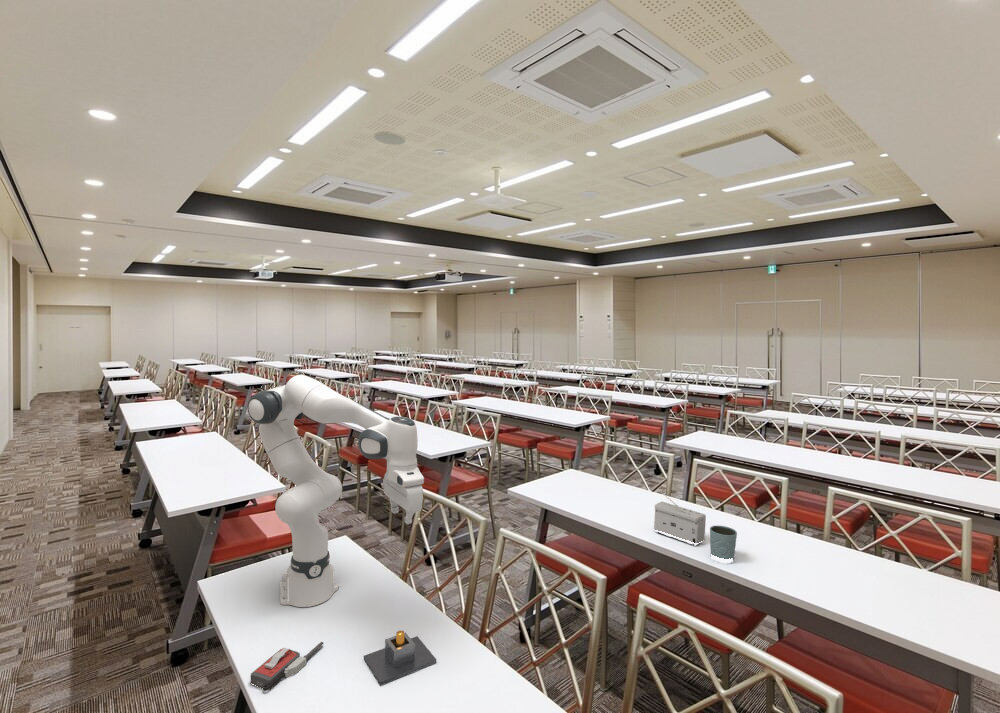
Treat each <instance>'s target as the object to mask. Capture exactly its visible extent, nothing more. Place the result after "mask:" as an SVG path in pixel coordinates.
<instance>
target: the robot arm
mask: <svg viewBox="0 0 1000 713" xmlns="http://www.w3.org/2000/svg"><path fill="white" fill-rule="evenodd" d="M247 413H248V415H249V417H250V419H251V420H252V421H253V422H254V423H256V424H259V427H258V432H259V436H260V440H261V443H262V445H263V448H264V450H265V452H266V455H267V456H268V457H269V460H270V462H271V464H272V467H273V468H274V470H275V472H276V473H277V475H278V476H280V477H282V478H284V479H287V480H290V481H291V482H292V483H293V484H295V486H293V487H291V488H288V489H287V490H286V491H285V492H283V493H282V494H281V495H280V496H279V497H278V498H277V499H276V501H275V505H274V506H275V507H274V508H275V514H276V515H277V516H276V517H278V519H279V520H280V521H281V522H282V523H284V524H286V525H287V526H288V527H289V530H290V532H291V539H292V541H291V542H292V544H291V545H292V555H291V557H290V558H291V559H290V565H289V566H288V567H287V568H286V574H281V579H280V581H279V604H280V605H282V606H293V607H297V608H298V607H299V608H308V607H313V606H317V605H320V604H323V603H325V602H327V601H328V600H330V598H331V597H332V596H333V594H334V593H335V592H336V591H338V590H339V589H340V587H339V586H340V585H339V583H337V582H336V581H335V568H334V566H333V565H332V564H331V563H330V560H331V558H330V557H331V555H330V551H329V530H328V528H327V527H326V526H325V525H323V524H322V523H320V519H319V514H320V512H323V511H324V510H325V509H328V508H329V507H331V506H333V505H334V503H336V502H337V501H338V499H340V498H341V496H342V495H343V494H342V493H343V486H342V482H341V480H340V478H338V477H337V475H334V474H330V473H328V472H326V471H325V470H323V469H322V467H320V466H319V465H318V464H317V463H316V462H315V461H314V460H313V459H312V457H311V456H310V454H309V452H308V450H307V448H306V447H305V445H304V443H303V441H302V439H301V438H300V436H299V434H298V432H297V430H296V428H295V420H301V419H302V418H303V416H306V417H308V418H309V419H311V421H315V422H317V423H320V424H341V423H344V424H345V423H347V424H353V425H357V426H360V427H362V429H364V430H363V431H361V432H360V434H359V436H358V443H357V445H358V450H359V452H360V453H361V455H362V456H363V457H364V458H366V459H368V460H379V459H385V460H386V472H384V476H383V492H384V495H385V496H387V497H388V498H389V503H390V510H391V512H392V513H393V514H395V515H396V514H397V513H399V512H400V511H399V506H400V507H401V508H402V509H404V511H405V516H404V517H403V518H404V520H403V521H404V522H403V523H405V524H406V525H410V524H412V523H413V516H414V515H415V514H416V513H419V512H421V510H422V508H423V500H424V498H423V495H424V488H423V484H424V483H425V477H424V476H423V474H422V473H421V471H420V468H419V466H418V458H417V452H418V451H417V450H418V429H417V425H416V423H415V421H414V420H413V419H411V418H408V417H406V416H391V418H388V417H387V416H385V415H382V414H380V413H378V412H377V411H375V410H373V409H371V408H369V407H368V406H365V405H364V404H362V403H359V402H357V401H355V400H353V399H351V398H349V397H347V396H345V395H342V394H341V393H339V392H337V391H335V390H334V389H333V388H331V387H329V386H327V385H326V384H324V383H323V382H322V381H319V380H317V379H315V378H313V377H311V376H308V375H305V374H297V375H294V376H293V377H291V378H290V379H289V380H288V381H287V382H286V384H285V385H280V386H276V387H273V388H270V389H266V390H262V391H258V392H256V393H255V394H253V395H252V396H250V397H249V399H248V402H247Z"/></svg>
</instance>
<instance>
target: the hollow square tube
mask: <svg viewBox="0 0 1000 713" xmlns="http://www.w3.org/2000/svg"><path fill="white" fill-rule="evenodd" d="M411 638H412V637H410V636H409V634H408V633H407V632H405V631H404V645H403V646H401V647H398V648H396V635H395V636H391V637H389V638H385V641H384V642H385V643H384V644H385V645H384V648H385V656H386V657H387V659H388V660H389V662H390V663H391V665H392V666H393V668H395V667H397V666H400V665H403V664H405V663H408V662H410V661H413V660H415V643H414V642H413V641H412V640H411Z"/></svg>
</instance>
